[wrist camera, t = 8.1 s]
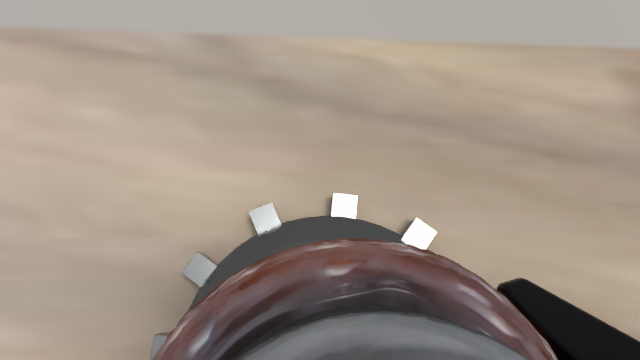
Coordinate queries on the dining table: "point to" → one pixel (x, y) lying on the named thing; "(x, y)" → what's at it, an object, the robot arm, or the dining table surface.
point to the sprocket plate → (293, 242)
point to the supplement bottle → (354, 310)
